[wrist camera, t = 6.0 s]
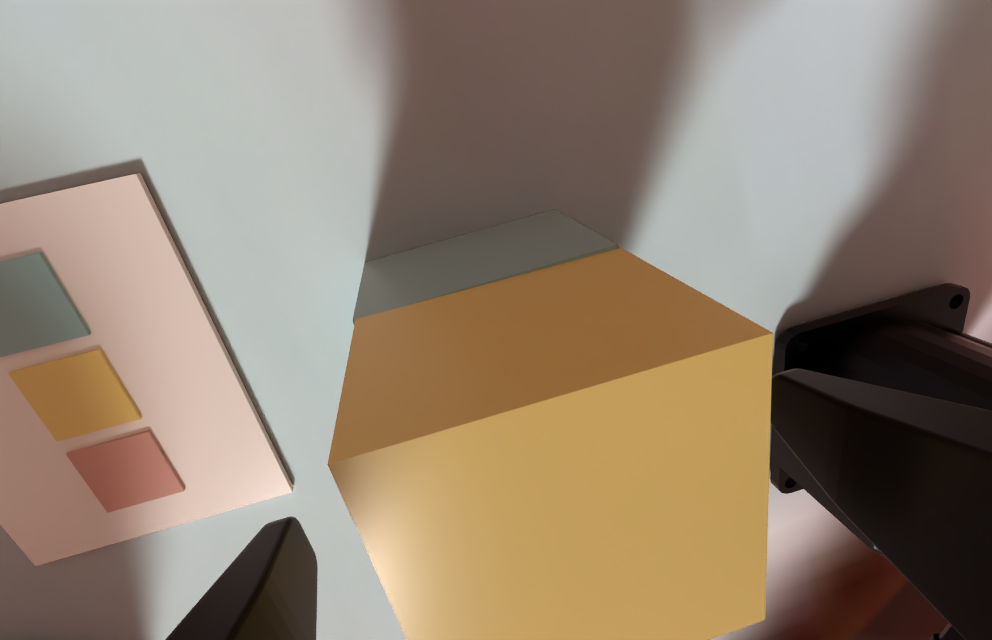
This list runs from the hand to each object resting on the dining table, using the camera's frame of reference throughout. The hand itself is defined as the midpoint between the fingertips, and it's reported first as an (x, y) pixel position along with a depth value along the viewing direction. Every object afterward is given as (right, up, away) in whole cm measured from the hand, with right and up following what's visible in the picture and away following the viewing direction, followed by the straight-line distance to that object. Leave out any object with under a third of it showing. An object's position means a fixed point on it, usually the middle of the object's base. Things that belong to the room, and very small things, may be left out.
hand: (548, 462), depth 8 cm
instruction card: (-11, +1, +4) cm, 12 cm away
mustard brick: (0, +1, +2) cm, 2 cm away
